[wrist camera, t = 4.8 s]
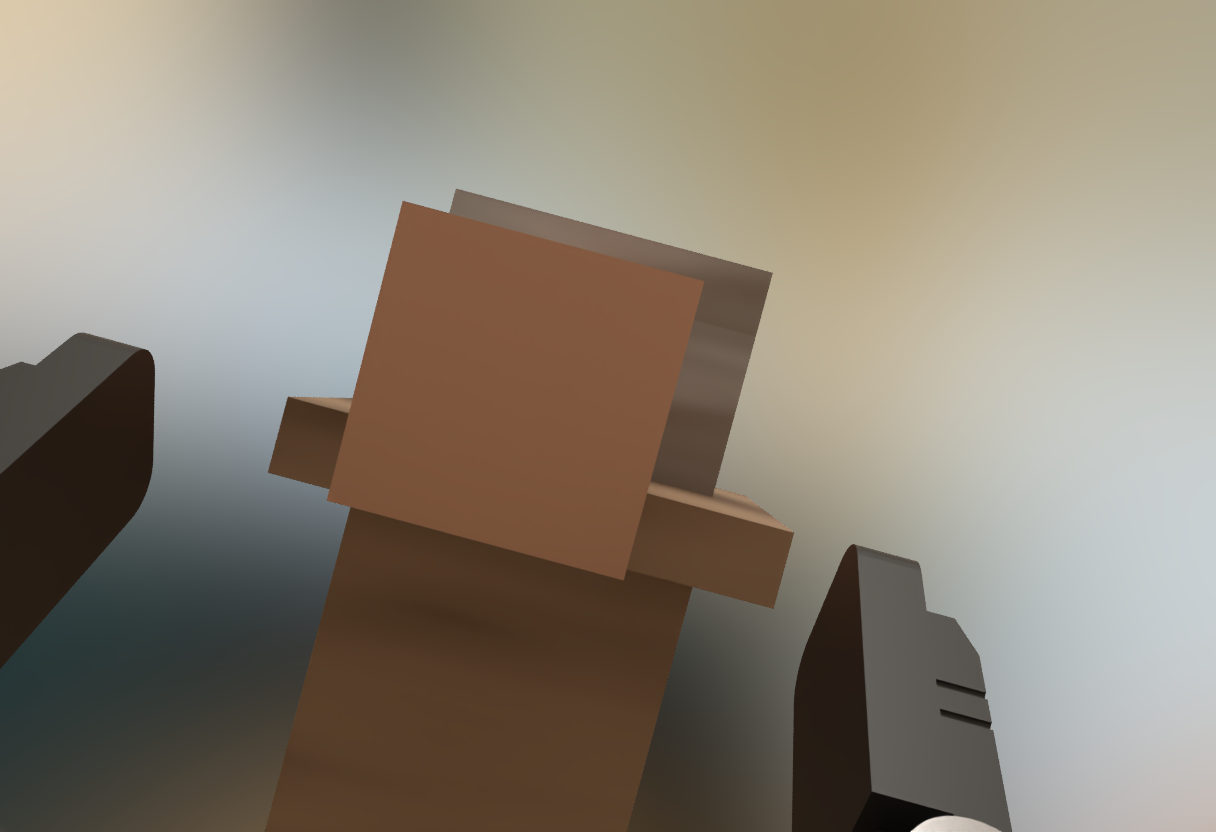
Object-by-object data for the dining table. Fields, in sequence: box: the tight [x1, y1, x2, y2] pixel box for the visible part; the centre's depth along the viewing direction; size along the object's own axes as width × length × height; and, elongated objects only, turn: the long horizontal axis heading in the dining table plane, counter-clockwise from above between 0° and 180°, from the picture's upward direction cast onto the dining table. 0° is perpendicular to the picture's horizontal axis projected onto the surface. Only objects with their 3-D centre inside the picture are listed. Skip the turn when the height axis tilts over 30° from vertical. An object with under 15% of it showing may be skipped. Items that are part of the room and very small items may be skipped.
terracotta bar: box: [327, 201, 704, 580], centre depth 21 cm, size 16×4×4 cm, turn 0°
